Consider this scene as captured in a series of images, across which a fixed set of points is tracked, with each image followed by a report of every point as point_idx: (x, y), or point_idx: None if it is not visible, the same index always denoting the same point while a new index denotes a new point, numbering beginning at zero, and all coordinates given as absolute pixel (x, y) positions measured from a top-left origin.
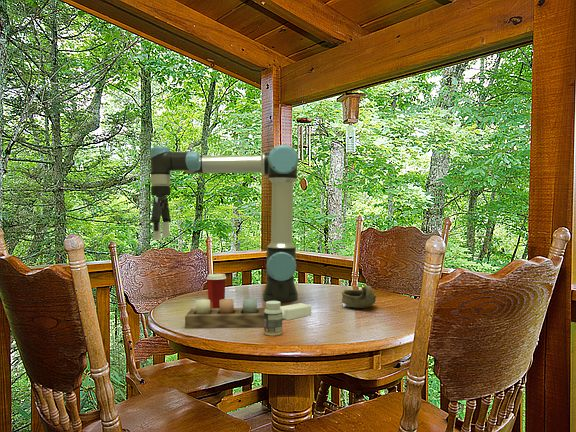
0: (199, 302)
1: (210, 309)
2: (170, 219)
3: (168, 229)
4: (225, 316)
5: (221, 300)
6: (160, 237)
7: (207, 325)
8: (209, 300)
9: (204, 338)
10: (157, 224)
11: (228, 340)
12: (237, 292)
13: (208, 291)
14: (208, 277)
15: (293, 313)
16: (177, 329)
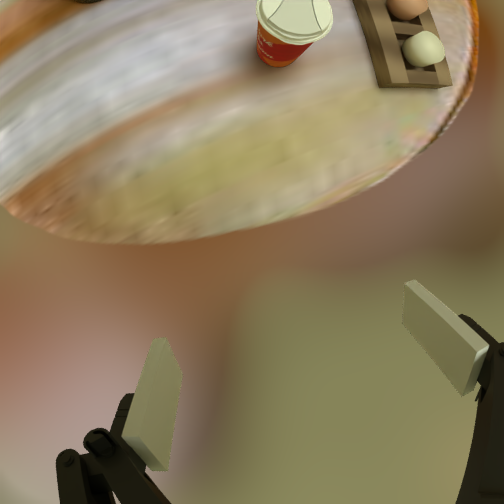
0: (444, 53)
1: (390, 38)
2: (88, 448)
3: (154, 382)
4: (429, 11)
5: (420, 7)
6: (419, 287)
7: None
8: (428, 32)
9: (471, 51)
10: (495, 340)
11: (468, 20)
12: (22, 108)
13: (306, 48)
14: (325, 30)
15: None
16: (444, 101)
